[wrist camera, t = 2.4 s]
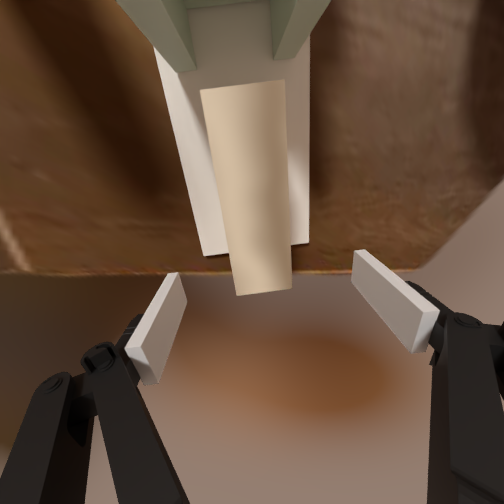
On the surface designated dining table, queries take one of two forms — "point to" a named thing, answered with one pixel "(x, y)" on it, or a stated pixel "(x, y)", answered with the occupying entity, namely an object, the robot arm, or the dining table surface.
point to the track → (230, 74)
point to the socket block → (176, 4)
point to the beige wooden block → (252, 181)
